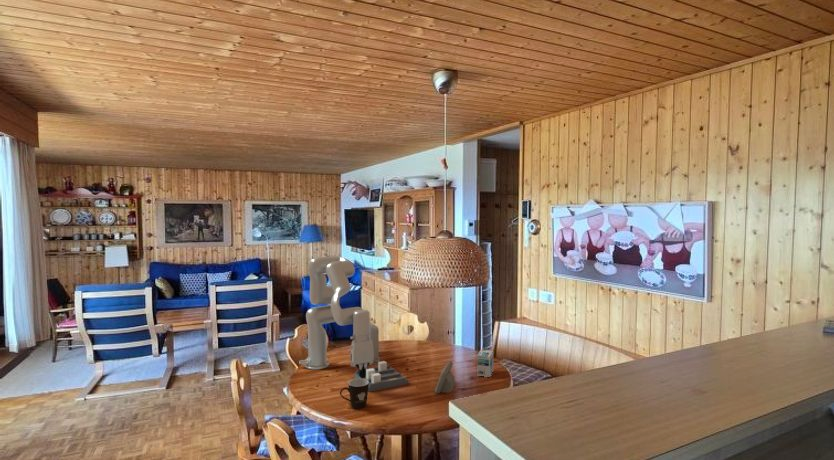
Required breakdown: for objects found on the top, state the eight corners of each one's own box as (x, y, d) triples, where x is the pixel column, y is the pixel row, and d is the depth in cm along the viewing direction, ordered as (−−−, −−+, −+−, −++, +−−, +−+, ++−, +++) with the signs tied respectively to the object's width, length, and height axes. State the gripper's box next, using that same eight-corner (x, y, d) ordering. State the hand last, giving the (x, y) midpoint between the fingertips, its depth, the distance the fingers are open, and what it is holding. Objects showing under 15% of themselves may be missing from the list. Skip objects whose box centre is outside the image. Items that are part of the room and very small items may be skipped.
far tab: (380, 371, 211) (380, 363, 211) (378, 369, 214) (378, 362, 214) (386, 370, 213) (386, 362, 213) (384, 368, 215) (384, 360, 215)
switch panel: (368, 391, 192) (368, 385, 192) (354, 377, 209) (353, 371, 209) (407, 384, 201) (407, 377, 201) (390, 370, 219) (390, 364, 218)
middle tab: (368, 379, 201) (368, 371, 201) (366, 377, 203) (366, 369, 203) (375, 378, 202) (375, 370, 202) (372, 376, 205) (372, 368, 205)
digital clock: (443, 380, 205) (442, 359, 205) (460, 384, 201) (460, 361, 201) (428, 392, 191) (428, 369, 191) (446, 396, 187) (446, 372, 186)
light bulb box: (490, 378, 208) (490, 356, 208) (476, 376, 210) (477, 355, 210) (493, 370, 218) (493, 350, 218) (480, 369, 220) (480, 349, 220)
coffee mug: (369, 401, 182) (369, 378, 182) (368, 410, 173) (368, 386, 173) (342, 401, 181) (342, 378, 181) (339, 410, 173) (339, 386, 173)
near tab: (373, 384, 194) (373, 376, 194) (371, 382, 197) (371, 374, 197) (380, 383, 196) (380, 374, 196) (378, 381, 199) (378, 372, 199)
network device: (354, 352, 249) (354, 318, 249) (368, 350, 253) (368, 317, 252) (368, 365, 226) (367, 328, 226) (383, 363, 230) (383, 327, 229)
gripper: (348, 341, 186) (349, 383, 186) (380, 337, 193) (380, 377, 193) (343, 337, 193) (344, 377, 193) (374, 333, 199) (374, 372, 200)
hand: (362, 377), depth 193 cm, fingers closed
